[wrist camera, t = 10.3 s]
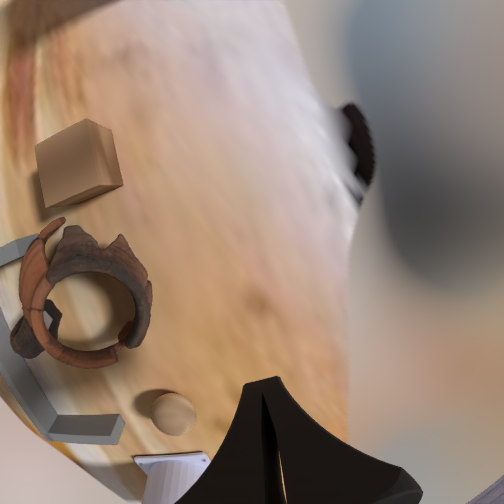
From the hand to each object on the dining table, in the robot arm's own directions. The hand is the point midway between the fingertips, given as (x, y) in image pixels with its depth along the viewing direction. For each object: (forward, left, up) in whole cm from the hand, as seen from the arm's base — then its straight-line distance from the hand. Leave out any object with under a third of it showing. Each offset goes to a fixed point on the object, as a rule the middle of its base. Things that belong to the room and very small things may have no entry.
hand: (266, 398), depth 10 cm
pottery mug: (+4, +11, -10) cm, 16 cm away
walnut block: (+12, +8, -10) cm, 18 cm away
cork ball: (-7, +8, -10) cm, 15 cm away
